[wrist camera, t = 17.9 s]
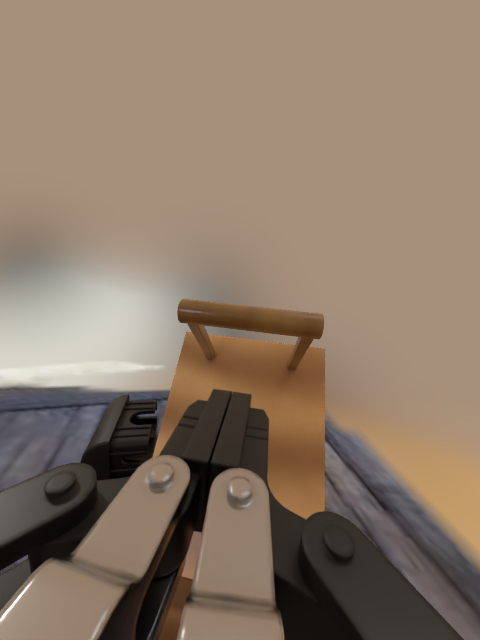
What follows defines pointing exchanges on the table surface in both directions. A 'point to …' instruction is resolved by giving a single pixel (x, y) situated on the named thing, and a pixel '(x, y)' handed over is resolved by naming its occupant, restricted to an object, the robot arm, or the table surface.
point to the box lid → (259, 393)
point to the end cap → (122, 439)
